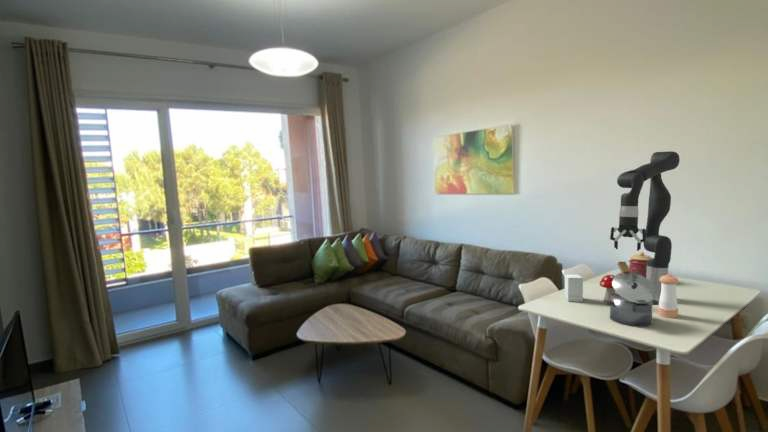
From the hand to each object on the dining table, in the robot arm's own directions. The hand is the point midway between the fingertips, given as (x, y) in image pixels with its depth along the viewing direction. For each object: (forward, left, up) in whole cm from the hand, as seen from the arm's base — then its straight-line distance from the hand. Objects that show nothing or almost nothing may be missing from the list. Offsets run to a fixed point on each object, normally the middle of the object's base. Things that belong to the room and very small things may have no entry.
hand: (627, 249), depth 188 cm
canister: (-33, -52, -30) cm, 69 cm away
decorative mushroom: (+3, -9, -30) cm, 31 cm away
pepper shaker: (-15, +7, -30) cm, 34 cm away
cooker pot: (+4, +14, -29) cm, 33 cm away
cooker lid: (+4, +12, -13) cm, 18 cm away
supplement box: (+18, -17, -30) cm, 39 cm away
